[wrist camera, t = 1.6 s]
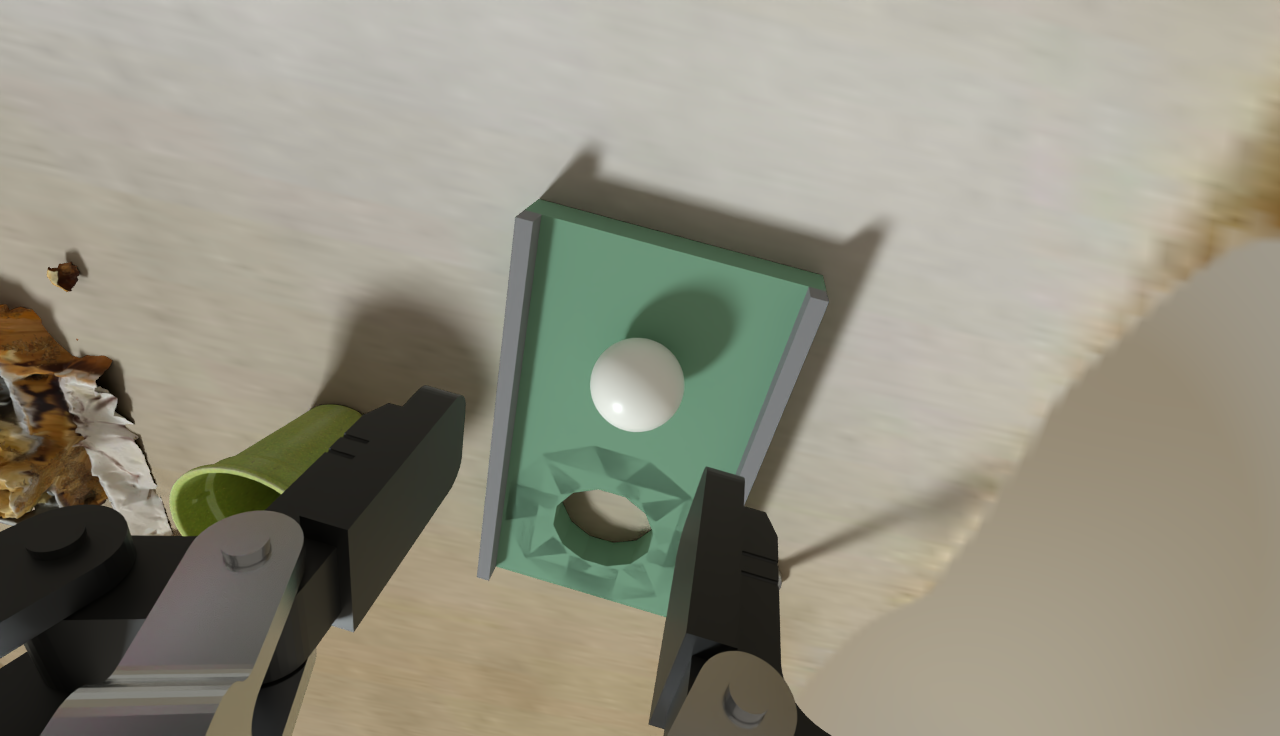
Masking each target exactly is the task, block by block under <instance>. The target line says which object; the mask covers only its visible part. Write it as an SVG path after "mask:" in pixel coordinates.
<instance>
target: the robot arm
mask: <svg viewBox="0 0 1280 736" xmlns="http://www.w3.org/2000/svg"><path fill="white" fill-rule="evenodd" d="M465 407H466V402H465V398H464V396H462V395H458V394H455V393H451V392H448V391H444V390H441V389H437V388H434V387H430V386H426V385H425V386H422V387H421V388H420V389H419V390H418V391H417V392H416V393H415V394H414V395H413V396H412V397H411V398H410V399H409V400H408V401H407V402H406V403H405V404H404V405H403V407H401V406H398V405H394V404H391V403H388V404H386V405H384V406H382V407H379V408H377V409H375V410H373V411H371V412H369V413H367V414H364V415H362V416H361V417H360V418H359V419H358V420H357V421H356V422H355V423H354V424H353V425H352V426H351V427H350V428H349V429H348V430H347V431H346V432H345V433H344V436H343V437H340V438H339V439H338V440H337V441H336V442H335V443H334V444H333V445H332V446H331V447H330V448H329V450H328V452H324V453H323V454H322V455H321V456H320V457H319V458H318V459H317V460H316V461H315V462H314V463H313V464H312V465H311V466H310V467H309V468H308V469H307V470H306V471H305V472H304V473H303V474H302V475H301V476H300V477H299V478H298V479H297V480H296V481H295V482H293V483H292V484H291V485H290V486H289V487H288V488H287V489H286V490H285V491H284V492H283V493H282V494H281V495H280V496H279V497H278V498H277V499H276V500H275V501H274V502H273V503H272V504H271V505H270V506H269V507H268V508H267V509H265V510H264V511H250V512H244V513H240V514H236V515H233V516H230V517H227V518H225V519H222V520H220V521H218V522H216V523H215V524H213V525H211V526H209V527H208V528H207V529H205V530H204V531H203V532H201V533H200V534H199V535H198V536H143V535H131V533H130V530H129V527H128V524H127V521H126V520H125V518H124V516H123V515H122V514H121V513H119V512H118V511H116V510H114V509H112V508H109V507H106V506H100V505H86V504H84V505H72V506H66V507H61V508H57V509H53V510H49V511H46V512H43V513H40V514H38V515H35V516H33V517H31V518H28V519H26V520H24V521H22V522H20V523H18V524H16V525H14V526H12V527H10V528H7V529H5V530H3V531H1V532H0V658H2V657H3V656H5V655H7V654H8V653H10V652H11V651H13V650H15V649H16V648H18V647H20V646H21V645H23V644H24V646H25V648H26V650H27V651H28V652H26V653H24V654H23V655H21V656H20V657H18V658H16V659H15V660H13V661H12V662H10V663H8V664H7V665H5V666H4V667H2V668H1V669H0V736H292V733H293V730H294V726H295V723H296V720H297V717H298V714H299V711H300V708H301V705H302V701H303V698H304V695H305V692H306V689H307V686H308V683H309V679H310V676H311V673H312V670H313V667H314V664H315V660H316V646H317V645H318V644H319V642H320V641H321V639H322V638H323V637H324V635H325V634H326V632H327V631H328V630H329V628H330V627H331V626H335V627H338V628H341V629H345V630H348V631H351V632H354V631H355V630H356V628H357V627H358V625H359V624H360V622H361V621H362V619H363V618H364V616H365V615H366V613H367V612H368V610H369V609H370V607H371V606H372V605H373V603H374V602H375V600H376V599H377V597H378V596H379V594H380V593H381V591H382V590H383V588H384V587H385V585H386V584H387V582H388V581H389V579H390V578H391V576H392V575H393V573H394V572H395V571H396V569H397V568H398V566H399V565H400V563H401V562H402V560H403V559H404V557H405V556H406V554H407V553H408V551H409V550H410V548H411V547H412V545H413V544H414V542H415V541H416V539H417V538H418V536H419V535H420V534H421V532H422V531H423V529H424V528H425V526H426V525H427V523H428V522H429V520H430V519H431V517H432V516H433V514H434V513H435V511H436V510H437V508H438V507H439V505H440V504H441V502H442V501H443V500H444V498H445V497H446V495H447V494H448V492H449V491H450V489H451V487H452V486H453V484H454V481H455V479H456V477H457V474H458V471H459V468H460V464H461V459H462V447H463V434H464V421H465ZM744 494H745V478H744V477H742V476H738V475H735V474H731V473H728V472H724V471H721V470H717V469H714V468H711V467H707V466H706V467H705V469H704V471H703V473H702V476H701V479H700V482H699V485H698V487H697V490H696V493H695V496H694V499H693V502H692V504H691V507H690V510H689V513H688V516H687V519H686V521H685V524H684V527H683V531H682V534H681V538H680V542H679V546H678V551H677V556H676V561H675V567H674V573H673V580H672V586H671V592H670V598H669V604H668V610H667V616H666V622H665V628H664V634H663V640H662V646H661V652H660V658H659V664H658V670H657V676H656V682H655V688H654V694H653V700H652V706H651V713H650V719H649V725H652V726H655V727H659V728H662V729H665V730H664V736H831V735H830V734H828V733H826V732H825V731H824V730H822V729H821V728H819V727H818V726H817V725H815V724H814V723H813V722H812V721H811V720H810V719H809V718H808V717H807V716H806V715H805V714H804V713H803V712H802V711H801V709H800V708H799V707H798V706H797V704H796V703H795V700H794V697H793V695H792V693H791V690H790V688H789V686H788V685H787V683H786V682H785V680H784V678H783V674H782V669H781V648H780V609H779V586H778V582H779V571H778V566H777V563H778V537H777V534H776V532H775V530H774V528H773V526H772V524H771V522H770V520H769V518H768V516H767V514H766V512H762V511H759V510H755V509H752V508H748V507H745V506H744Z"/></svg>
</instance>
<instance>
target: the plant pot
mask: <svg viewBox="0 0 1280 736" xmlns="http://www.w3.org/2000/svg"><path fill="white" fill-rule="evenodd" d="M361 416H362V415H361V414H360V413H359V412H357V411H355V410H353V409H351V408H348V407H345V406H341V405H332V404H328V405H320V406H317V407H315V408H313V409H311V410H309V411H308V412H306V413H305V414H303V415H301V416H300V417H298V418H297V419H295V420H293V421H292V422H290V423H288V424H287V425H285V426H284V427H282V428H280V429H279V430H277V431H275V432H274V433H272V434H270V435H269V436H267V437H265V438H264V439H262V440H260V441H259V442H257V443H256V444H254V445H252V446H251V447H249V448H247V449H246V450H244V451H243V452H241V453H239V454H237V455H236V456H233V457H229V458H226V459H223V460H221V461H219V462H217V463H215V464H211V465H204V466H200V467H197V468H194V469H192V470H190V471H188V472H187V473H185V474H184V475H182V476H181V477H180V478H179V479H178V480H177V481H176V482H175V484H174V485H173V487H172V490H171V493H170V500H169V503H170V511H171V514H172V518H173V521H174V523H175V525H176V527H177V529H178V530H179V532H180V534H181V535H182V536H198V535H199V534H200V533H201V532H203V531H204V530H205V529H207V528H208V527H209V526H211V525H213V524H215V523H216V522H218V521H220V520H222V519H225V518H227V517H230V516H233V515H236V514H240V513H244V512H250V511H264V510H265V509H267V508H268V507H269V506H270V505H271V504H272V503H273V502H274V501H275V500H276V499H277V498H278V497H279V496H280V495H281V494H282V493H283V492H284V491H285V490H286V489H287V488H288V487H289V486H290V485H291V484H292V483H293V482H295V481H296V480H297V479H298V478H299V477H300V476H301V475H302V474H303V473H304V472H305V471H306V470H307V469H308V468H309V467H310V466H311V465H312V464H313V463H314V462H315V461H316V460H317V459H318V458H319V457H320V456H321V455H322V454H323V453H324V452H328V450H329V448H330V447H331V446H332V445H333V444H334V443H335V442H336V441H337V440H338V439H339V438H340V437H343V436H344V433H345V432H346V431H347V430H348V429H349V428H350V427H351V426H352V425H353V424H354V423H355V422H356V421H357V420H358V419H359V418H360V417H361Z"/></svg>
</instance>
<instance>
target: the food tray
mask: <svg viewBox="0 0 1280 736" xmlns="http://www.w3.org/2000/svg"><path fill="white" fill-rule="evenodd" d="M71 264H72V262H70V263H64V264H59V266H58V268H50V267H48V271H47V277H48V278H49V279H50V281H51V282H52V284H53V285H55V286H57V287H59V288H62V289H64V290H65V291H66V292H68V291H72V290H71V289H72V288H73V287H74V285H75V284H76V282H77V281H78V278H77V276H79V271H78V269H77V266H75V265H71ZM77 341H78V339H77ZM111 363H112V360H111V359H109V358H108V357H106V356H89V355H86V356H84V357H83V358H78V357H75V356H72V355H71V354H70V353H69V352H68V351H66V350H65V349H64V348H63V347H62V346H61V345H59V344H58V343H57V342H56V341H55V340H54V339H53V338H52V336H51V335H50V334H49V333H48V332H47V330H46V329H45V328H44V326H43V325H42V320H41V319H40V317H39V316H38V315H37V314H36V313H35V312H34V311H33V310H32V309H27V308H23V307H18V308H15V309H12V310H9V308H8V306H7V304H4V305H0V523H4V524H7V525H12V526H14V525H16V524H18V523H20V522H22V521H24V520H26V519H28V518H31V517H33V516H35V515H38V514H40V513H43V512H46V511H49V510H53V509H57V508H61V507H66V506H72V505H84V504H86V505H102V504H103V503H105V502H106V499H107V498H108V499H109V502H111V505H112V507H113V509H114V510H116V511H118V512H119V513H121V514H122V515H123V516H124V518H125V520H126V521H127V524H128V527H129V530H130V533H131V535H143V536H171V535H172V534H173V533H172V532H171V529H170V527H169V524H168V520H167V517H166V514H165V513H164V512H165V510H164V507H163V506H164V505H163V503H162V499H161V498H159V497H158V495H157V494H156V493H155V491H154V490H153V489H156V488H155V487H157V485H156V484H154V482H153V480H152V477H151V474H150V470H149V467H148V466H147V464H146V462H145V461H146V460H144V459H145V456H144V455H143V454H142V451H141V449H140V448H138V445H136V443H135V442H134V440H136V439H138V438H139V437H138V436H137V435H135V434H133V433H131V432H130V431H129V430H127V429H126V427H125V425H126V424H133V423H131V422H129V421H127V420H126V419H125V418H124V417H122V416H121V415H119V414H118V413H116V412H115V408H116V405H117V399H118V398H116V397H114V396H113V395H112V394H111V393H109V391H108V390H107V389H104V388H102V387H101V386H99V387H97V386H96V383H95V381H96V380H97V379H99V377H100V376H101V375H103V373H104V371H105V370H108V368H109V367H110V365H111ZM134 425H135V424H134ZM33 507H35V510H33V511H32V509H33ZM29 511H30V512H29Z"/></svg>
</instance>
